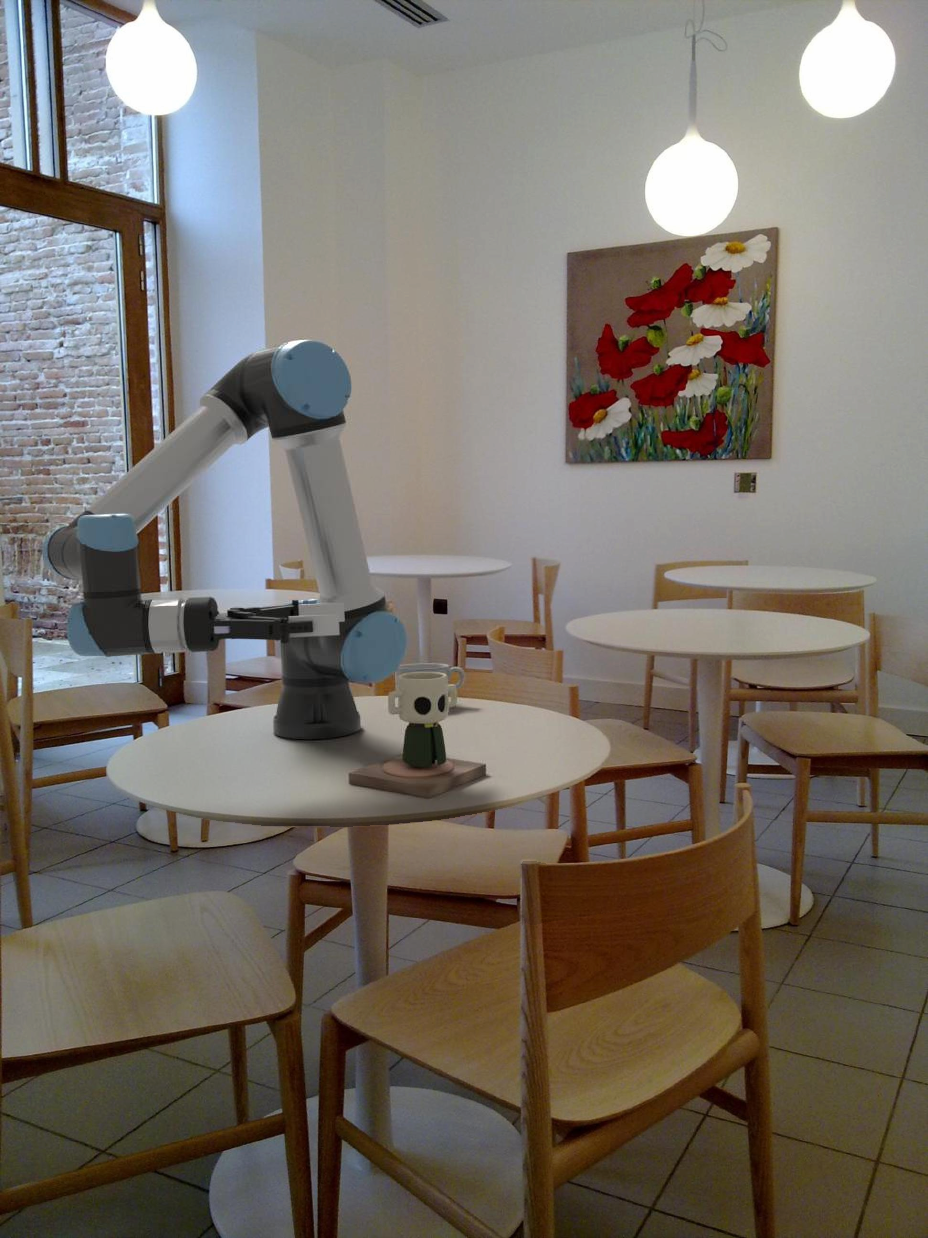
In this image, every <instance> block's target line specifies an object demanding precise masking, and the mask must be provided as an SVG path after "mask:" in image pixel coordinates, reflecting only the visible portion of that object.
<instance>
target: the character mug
mask: <svg viewBox="0 0 928 1238" xmlns="http://www.w3.org/2000/svg"><path fill="white" fill-rule="evenodd" d="M448 691H450V696H448ZM396 698H397V706H396V703H395V702H396ZM449 699H450V700H449ZM387 702H388V703H387V705H388V706H387V707H388V708H387V709H388V714H389V715H398V717H399V720H401V721H403V722H406V723H408V724H407V725H406V727H405V731H404V737H403V738H404V739H403V747H402V754H403V757H402V760H403V761H404V762H405V763H407V764H409V765H410V766H415V767H430V766H432V764H435V760H437V765H441V764H443V763H445V762H446V758H447V753H446V743H445V739H444V737H445V736H444V731H443V728H442V725H441V724H440V723H439V722H442V721H444V720H446V719H447V717H448V714H449V712H450V708H453V707H456V706H457V703H458V689H457V688H456V684H453V683H451V684H450V683H449V685H448V678H447V675H446V674H444V673H439V672H411V673H405V674H401V675H399V676H398V691H396V690H392V691H390V692H388V695H387Z"/></svg>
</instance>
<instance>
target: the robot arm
mask: <svg viewBox="0 0 928 1238" xmlns="http://www.w3.org/2000/svg"><path fill="white" fill-rule="evenodd" d="M351 394H352V378H351V374H350V371H349V368H348V366H347V364H346V362H345V360H344V359H343V358H342V356H341V355H340V354H339V353H338V352H337V351H336V350H335V349H333V348H332V347H330V346H329V345H328V344H326V343H324V342H321V341H318V340H315V339H303V340H291V341H288V342H285V343H282V344H279V345H276V346H272V347H269V348H265V349H264V348H263V349H260V350H257V351H255V352H252V353H250V354H248V355H247V356H245V357H244V358H243V359H241V360H240V361H239V362H238V363H237V364H235V365H234V366H233V367H232V368H231V369H230V370H229V371H228V372H226V373H225V374H224V376H222V377H221V378H220V379H219V380H218V381H217V382H216V383H215V384H214V385H212V386H211V388H210V389H208V390H207V391H206V392H205V393H204V394H203V395H202V396H201V397H200V399H199V408H198V409H197V410H195V411H194V412H193V413H192V414H191V415H190V416H189V417H187V418H186V419H185V420H184V421H183V422H182V423H181V424H180V425H178V426H177V428H175V429H174V430H173V431H172V432H170V434H169V435H167V436H166V437H165V438H164V439H163V440H162V441H161V442H160V443H158V444H157V445H156V446H155V447H153V448H152V450H151V451H150V452H148V454H146V455H145V456H144V457H143V458H142V459H140V461H138V462H137V463H136V464H135V465H134V466H133V467H132V468H130V469H129V470H128V471H127V472H125V474H124V475H123V476H121V478H120V479H118V480H117V481H116V482H115V483H113V485H112V486H110V487H109V488H108V489H107V490H106V491H105V492H104V493H103V494H101V495H100V496H99V497H98V498H97V499H95V501H94V502H92V504H91V505H90V506H88V507H87V508H86V509H85V510H84V511H83V512H81V514H79V515H78V516H77V517H76V518H75V519H73V520H72V521H71V522H70V523H68V525H66V526H61V527H59V528H57V529H54V530H53V531H51V532H50V533H49V534H48V535H47V536H46V537H45V538H44V541H43V542H42V548H41V555H42V556H41V557H42V560H43V562H44V564H45V566H46V567H47V569H48V570H49V571H51V572H52V573H53V574H55V575H56V576H59V577H62V578H64V579H67V580H74V581H75V580H81V581H82V589H83V591H82V596H83V597H82V599H83V601H80V602H76V603H73V604H72V605H71V606H70V607H69V609H68V611H67V615H66V621H67V624H66V636H67V640H68V644H69V646H70V648H71V650H72V651H73V653H75V654H76V655H78V656H81V657H105V658H111V657H121V656H122V657H123V656H137V655H139V656H140V655H154V654H161V653H164V654H163V655H164V657H165V658H171V657H172V655H173V654H175V653H185V651H187V650H188V651H190V652H191V653H199V652H200V653H201V652H203V653H205V652H215V651H216V650H218V647H219V645H220V640H227V639H228V640H229V639H230V640H263V641H264V640H265V641H266V640H267V641H270V640H271V641H277V642H278V641H279V643H280V665H281V669H280V670H281V692H280V695H279V699H278V703H277V708H276V714H275V715H274V717H273V719H272V720H273V721H272V723H273V726H272V727H273V733H274V735H276V736H279V737H281V738H286V739H294V740H322V739H333V738H339V737H344V736H349V735H353V734H354V733H357V732H359V731H360V730H361V727H362V726H361V724H362V723H361V714H360V712H359V711H358V709H357V704H356V702H355V698H354V695H353V692H352V689H351V686H350V685H351V684H350V681H351V682H353V683H357V684H359V683H360V684H363V683H367V684H375V683H376V684H377V683H381V682H383V681H385V680H387V679H388V678H390V677H391V676H393V675H394V674H395V671H396V670H397V669H398V668H399V666H400V665H401V663H402V661H403V660H404V658H405V656H406V652H407V650H408V649H407V648H408V635H407V634H408V633H407V629H406V627H405V625H404V623H403V622H402V621H401V619H400V618H399V617H397V616H396V615H395V614H394V613H392V612H389V610H388V605H387V601H386V596H385V592H384V591H383V590H382V589H380V588H379V587H378V586H375V585H374V584H373V580H372V577H371V572H370V569H369V564H368V559H367V555H366V554H367V553H366V550H365V545H364V542H363V537H362V532H361V528H360V523H359V519H358V515H357V511H356V505H355V501H354V496H353V493H352V492H353V491H352V488H351V484H350V477H349V474H348V471H347V466H346V465H347V464H346V461H345V458H344V453H343V448H342V444H341V439H340V437H341V434H342V432H343V431H344V429H345V428H346V426H347V422H346V416H345V412H344V409H345V408H346V407H347V405H348V403H349V402H348V401H349V398H350V397H351ZM266 428H269V431H270V435H271V439H272V441H273V442H275V443H276V444H277V445H279V446H280V447H282V448H283V450H284V451H285V455H286V459H287V464H288V468H289V471H290V476H291V481H292V484H293V488H294V494H295V497H296V501H297V505H298V509H299V514H300V518H301V522H302V526H303V531H304V535H305V539H306V543H307V547H308V548H307V549H308V551H309V556H310V559H311V564H312V568H313V571H314V572H313V573H314V576H315V581H316V585H317V589H318V593H319V597H318V598H315V599H305V600H303V599H302V600H299V599H292V600H291V601H289V602H285V603H283V604H277V605H268V606H267V605H266V606H265V605H264V606H257V607H256V606H248V607H240V606H236V607H235V606H234V607H230V608H229V609H227V610H226V612H220V611H219V607H218V604H217V603H218V602H217V601H216V599H215V598H214V597H212V596H203V597H202V596H199V597H188V598H187V599H186V600H185V599H184V598H182V597H171V598H168V597H167V598H152V599H142V587H141V577H140V576H141V575H140V563H139V562H140V560H139V559H140V558H139V547H138V546H139V545H138V544H139V537H138V534H139V533H140V532H141V531H142V530H143V529H144V528H145V527H147V525H149V523H151V522H152V521H153V519H155V518H156V517H157V516H158V515H159V514H160V513H161V512H163V510H164V509H166V507H168V506H169V505H170V504H171V503H172V502H173V501H174V500H175V499H176V498H178V496H180V495H181V494H182V492H184V491H185V490H186V489H187V488H188V487H190V486H191V484H192V483H194V482H195V481H196V480H197V479H198V478H199V477H200V476H202V474H203V473H204V472H206V471H207V470H208V468H210V467H211V466H212V465H213V464H214V463H215V462H216V461H217V460H218V459H219V458H220V457H222V456H223V455H224V454H225V453H226V452H227V451H228V450H229V449H231V447H233V446H234V445H244V444H245V443H247V442H248V440H249V439H250V438H252V437H253V436H254V435H256V434H257V433H259V432H260V431H262V430H264V429H266ZM172 653H173V654H172Z"/></svg>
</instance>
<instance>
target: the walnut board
mask: <svg viewBox="0 0 928 1238" xmlns="http://www.w3.org/2000/svg"><path fill="white" fill-rule="evenodd" d="M402 757H403V753H402V754H399V755H396V756H393V757H391V758H388V759H385V760H382V761H379V762H375V763H373V764H371V765H367V766H364V767H361V768H358V769H356V770H352V771H350V772H348V784H351V785H356V786H362V787H368V788H373V789H379V790H383V791H388V792H390V791H391V792H394V793H400V794H406V795H409V796H410V795H412V796H416V797H421V798H428V799H431V798H432V797H435V796H437V795H440V794H442V793H445V792H447V791H449V790H452V789H454V788H456V787H458V786H461V785H463V784H466V783H468V782H471V781H473V780H476V779H478V778H481V777H483V776H485V775H487V763H482V762H475V761H470V760H469V761H468V760H462V759H456V758H450V757H446V762H445V763H443V764H441V765H437V760H435V764H432V766H430V767H415V766H410V765H409V764H407V763H405V762H404V761H403V760H402Z"/></svg>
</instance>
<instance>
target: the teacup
mask: <svg viewBox="0 0 928 1238" xmlns="http://www.w3.org/2000/svg"><path fill="white" fill-rule="evenodd" d="M411 672H439V673H444V674H446V675H447V678H448V685H450V683H449V681H450V680H451V677H452V674H453V673H458V674H459V677H460V679H459V681H458V682H457V683H456V684H455V685H456V688H457V690H458V689H460V688H461V687H462V686H463V684H464V683H465V682H466V676H467V675H466V673H465V670H464V669H463V668H461V667H459V666H453V667H451V668H450V665H449V664H446V663H433V662H432V663H430V662H427V663H426V662H424V663H406V664H400V666H399V668H398V669H397V670H396V671H395V672H394V682H395V691H398V676H399V675H401V674H405V673H411ZM448 697H450V691H448Z"/></svg>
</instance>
